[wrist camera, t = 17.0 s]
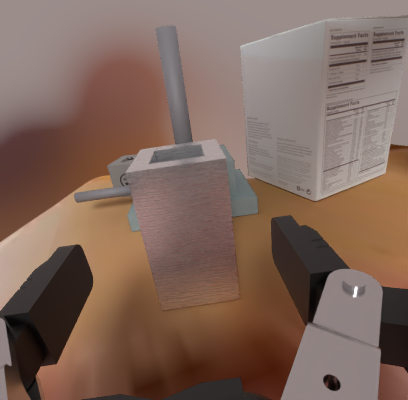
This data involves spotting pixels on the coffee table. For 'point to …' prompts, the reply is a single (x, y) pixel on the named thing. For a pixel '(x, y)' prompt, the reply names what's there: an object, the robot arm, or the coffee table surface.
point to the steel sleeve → (186, 222)
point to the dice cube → (120, 171)
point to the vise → (181, 134)
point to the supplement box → (323, 103)
